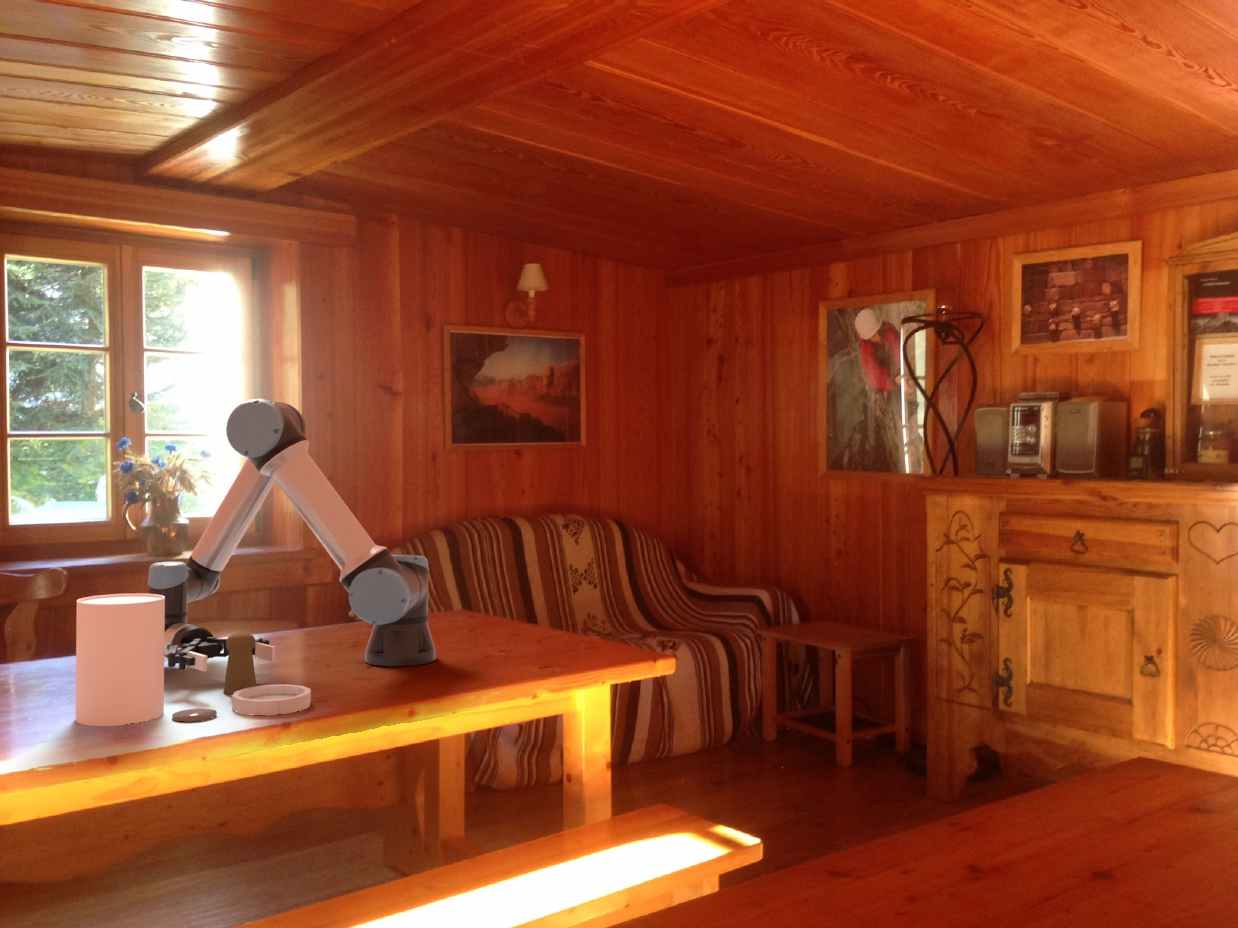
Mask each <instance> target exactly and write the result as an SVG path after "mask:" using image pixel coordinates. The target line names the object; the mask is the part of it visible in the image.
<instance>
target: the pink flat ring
mask: <svg viewBox="0 0 1238 928" xmlns="http://www.w3.org/2000/svg"><path fill="white" fill-rule="evenodd" d="M311 691H312V689H311V688H309V687H307V686H304V685H299V684H298V685H297V684H284V683H283V684H282V683H281V684H264V685H262V684H261V685H256V686H255V687H248V688H245V689H242V690H239V691H235V692H234V694H233V695H231V710H234V711H237V712H238V713H237V712H236V713H237V714H239V713H241V714H240V715H244V714H253V715H252V716H254V715H266V716H270V715H269V714H273V715H272V716H275V715H274V714H282V715H287V714H292V713H293V712H294V713H298V712H297V711H299V712H301V711H303V710H306V709H309V708H310V706H311V702H312V701H311V699H312V698H311V697H312V692H311ZM308 707H309V708H308ZM234 711H233V712H234Z"/></svg>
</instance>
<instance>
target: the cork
mask: <svg viewBox="0 0 1238 928" xmlns="http://www.w3.org/2000/svg"><path fill="white" fill-rule="evenodd" d="M226 639H227V640H226V647H227V650H228V651H229V655H228V656H227V664H226V670H225V677H224V678H225V679H224V685H223V692H222V693H224V695H225V694H226V696H232V695H233V694H234V692H235V691H239V690H242V689H245V688H248V687H255V686H257V680H256V679H257V677H256V672H255V671H256V670H255V663H254V662H255V661H254V655H253V654H252V650H253V649H254V646H255V640H256V638H255V636H254V635H253V634H251V633H248V632H237V633H233V634H230V635H229V636H228V637H227V638H226Z"/></svg>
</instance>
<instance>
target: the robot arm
mask: <svg viewBox="0 0 1238 928" xmlns="http://www.w3.org/2000/svg"><path fill="white" fill-rule="evenodd" d="M306 424H307V423H306V421H305V419H304V417H303V415H302V414H301V412H300V411H299V410H298V409H297V408H296V407H295V406H293V405H291V404H288V403H286V402H280V401H273V400H268V399H266V398H265V399H264V398H258V399H257V398H254V399H249V400H247V401H244V402H241V403H240V404H239V405H237V406H236V407H234V409H233V410H232V411H231V413H230V414H229V416H228V419H227V423H226V427H225V428H226V429H225V431H226V438H227V440H228V443H229V444H230V446H231V448H233V450H234V451H236V452H237V453H238V454H239V455H241V456H243V457H245V458H247V459H246V461H245V463H244V464H243V466H242V467H241V469H240V471H239V473H238V474H237V475H236V478H235V479H234V480H233V483H231V486H230V488H229V490H227V493H226V495H225V496H224V498H223V500H222V501H221V503H220V504H219V506H218V508H217V510H216V512H215V513H214V515H213V516H212V518H211V520H210V522H209V524H208V525H207V527H206V528H205V530H204V532H203V533H202V535H201V537H200V538H199V540H198V542H197V543H196V546H194V549H192V552H191V554H190V556H189V557H188V559H187V561H186V562H184V561H162V562H158V561H157V562H154V563H151V564H150V566H149V568H148V579H147V587H148V588H147V591H148V592H147V594H157V595H162V596H165V626H164V658H166V659H167V667H169V668H173V667H175V666H176V664H178V670H179V671H184V670H187V667H189V668H192V669H195V670H198V671H201V672H207V671H208V660H209V659H214V658H216V657H217V658H226V657H228V656H229V651H228V650H227V647H226V640H227V638H219V637H215V636H214V634H213V633H212V632H211V631H210V630H208V629H207V628H204V627H202V626H196V625H194V624H189V623H188V604H189V603H191V602H195V601H199V600H203V599H206V598H209V597H210V596H212V595H213V594H215V593H216V592H217V591H218V589H219V588H220V584H221V574H222V572H223V571H224V569H225V568H226V565H227V564H228V562H229V560H230V559H231V558H232V555H233V554H234V553H235V550H236V549H237V548H238V546H239V544H240V543H241V541H242V538H243V537H244V535H245V534H246V532H247V530H248V528H249V527H250V525H251V524H252V521H253V520H254V519H255V517H256V515H257V513H258V512H259V510H260V508H261V507H262V505H263V504H264V503H265V500H266V498H267V497H268V495H269V493H270V492H271V489H272V488H273V486H274V485H275V483H276V484H277V486H278V487H279V488H280V490H281V491H282V492H283V494H284V495H285V496H286V498H287V499H288V500H289V501H290V503H291V505H292V506H293V507H294V509H295V510H296V511H297V512H298V514H299V515H300V516H301V518H302V519H303V521H304V522H305V524H307V526H308V527H309V529H310V530H311V531H312V534H314V535H315V537H316V539H317V540H318V541H319V542H320V544H321V545H322V546H323V548H324V549H325V550H326V552H327V553H328V554H329V556H330V558H331V559H332V560H333V561H334V563H335V565H337V567H338V568H339V570H340V575H339V582H340V584H341V585H342V586H343V588H344V589H345V590H346V592H347V593H348V601H349V605H350V607H351V610H352V611H353V613H354V615H356V616H357V617H358V618H359V619H360V620H361V621H363V622H366V623H368V624H370V625H371V624H372V625H373V627H372V630H371V632H370V633H371V634H370V636H369V639H368V642H367V645H366V648H365V652H364V655H365V656H364V662H366V663H367V664H368V665H373V666H382V667H410V666H411V667H412V666H413V667H414V666H420V665H425V664H429V663H432V662H434V661H436V655H437V653H436V652H437V651H436V650H437V649H436V646H435V642H434V640H433V637H432V633H431V631H430V627H429V619H428V618H429V574H430V568H429V560H428V559H427V557H426V556H421V555H409V554H393V553H392V552H391V551H390V550H389V548H388V547H386V546H382V545H378V544H376V543H375V542H374V541H373V540H372V538H371V537H370V535H369V533H368V532H367V531H366V530H365V529H364V527H363V525H361V523H360V522H359V521H358V519H357V517H355V515H354V514H353V512H352V511H351V510H350V507H349V506H348V505H346V503H345V502H344V500H343V499H342V497H341V496H340V495H339V494H338V492H337V491H336V489H335V488H334V486H333V485H332V483H331V482H330V481H329V480H328V478H327V477H326V475H324V472H323V471H322V470H321V469H320V468H319V466H318V465H317V464H316V462H315V460H313V458H312V457H311V456H310V454H309V452H308V451H309V446H310V442H309V440H308V438H306V435H307V425H306ZM276 648H277V647H276V646H275V645H271V644H270V640H268V639H264V638H262V637H260V638H258V639H255V646H254V649H253V650H252V654H253V656H254V657H255V658H260V659H262V660H266V661H269V662H275V661H276V659H277V658H276V655H277V651H276V650H277V649H276ZM222 651H223V652H222Z"/></svg>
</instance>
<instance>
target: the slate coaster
mask: <svg viewBox="0 0 1238 928" xmlns="http://www.w3.org/2000/svg"><path fill="white" fill-rule="evenodd" d="M216 715H217V716H218V713H217V710H215V709H214V708H213V709H211V708H191V709H184V710H179V711H176V712H174V713H172V715H171V718H172V720H173V721H174V720H176V721H175V722H177V721H184V722H183V723H194V722H193V721H199V722H202V721H201V720H205V721H209V720H208V719H210V718H212V717H215V718H216V717H217V716H216ZM210 720H211V719H210ZM191 721H192V722H191Z"/></svg>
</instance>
